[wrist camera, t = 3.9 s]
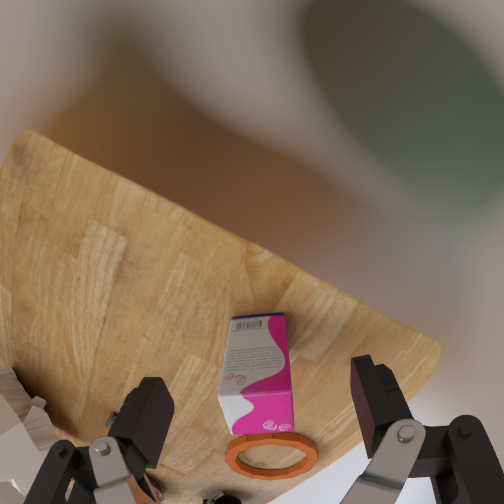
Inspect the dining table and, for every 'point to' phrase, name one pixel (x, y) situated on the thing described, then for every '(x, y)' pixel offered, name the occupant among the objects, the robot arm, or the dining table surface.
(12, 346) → the dining table surface
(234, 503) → the black patterned hollow part
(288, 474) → the ring
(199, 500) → the dining table surface
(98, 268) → the dining table surface
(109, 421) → the decorative ring
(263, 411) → the supplement box
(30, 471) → the notched white block
